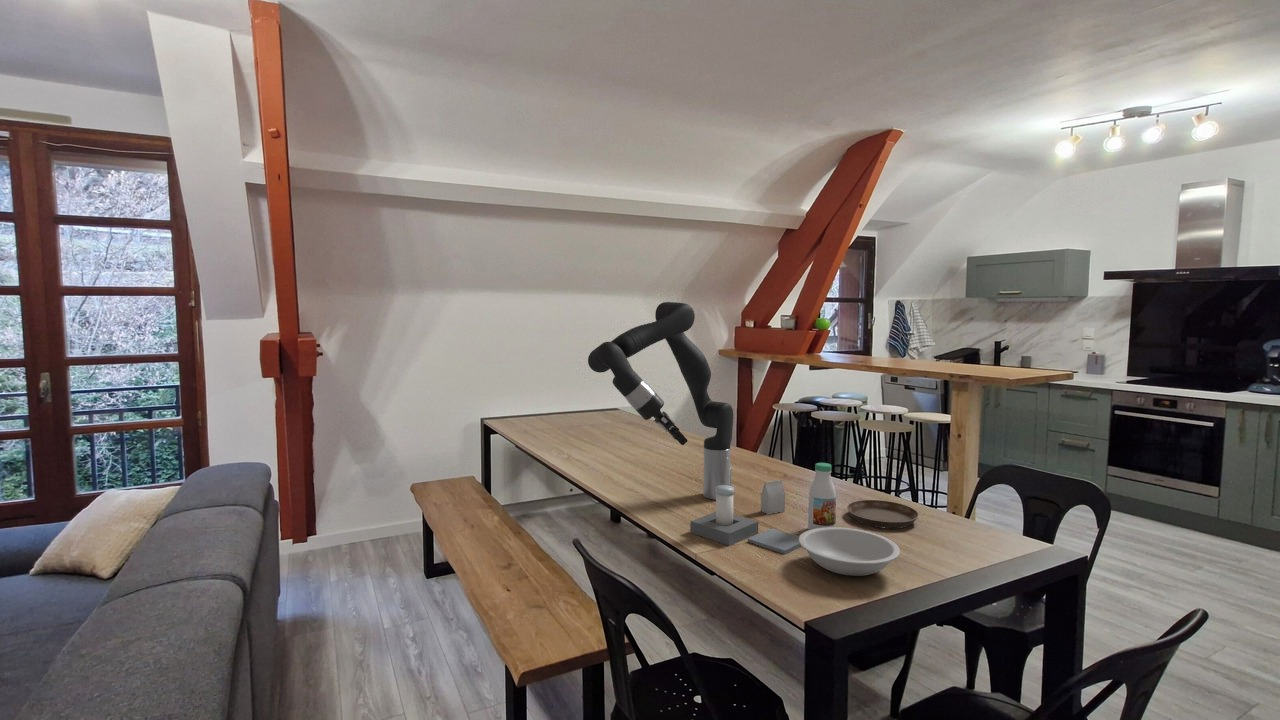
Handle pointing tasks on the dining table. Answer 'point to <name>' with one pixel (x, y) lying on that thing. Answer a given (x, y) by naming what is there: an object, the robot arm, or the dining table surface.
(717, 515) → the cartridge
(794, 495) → the dining table surface
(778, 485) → the white paper packet
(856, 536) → the soup bowl
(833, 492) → the milk bottle
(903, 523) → the plant saucer
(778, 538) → the mat
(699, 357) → the robot arm
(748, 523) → the housing
